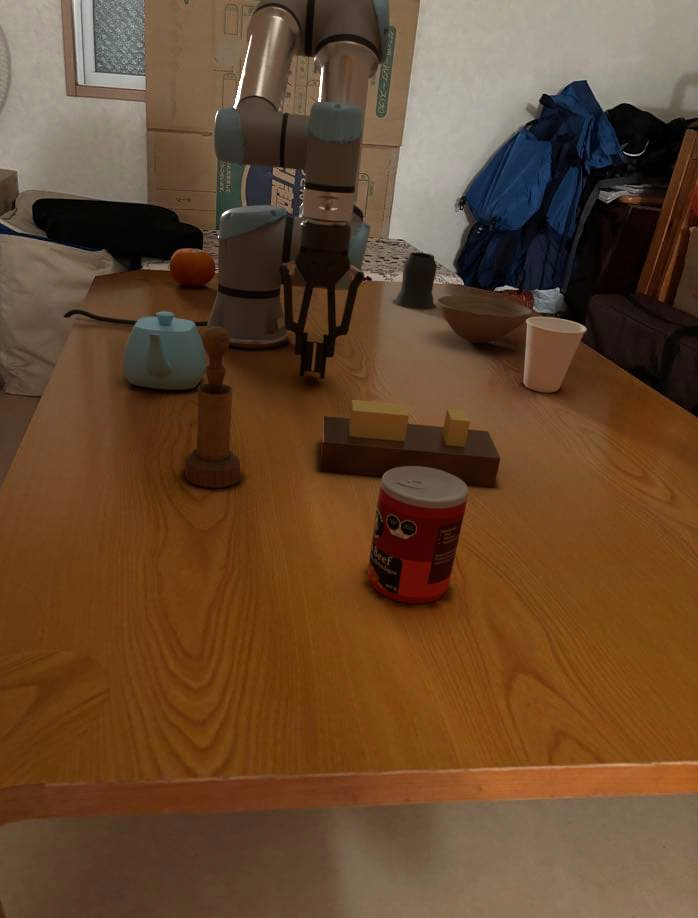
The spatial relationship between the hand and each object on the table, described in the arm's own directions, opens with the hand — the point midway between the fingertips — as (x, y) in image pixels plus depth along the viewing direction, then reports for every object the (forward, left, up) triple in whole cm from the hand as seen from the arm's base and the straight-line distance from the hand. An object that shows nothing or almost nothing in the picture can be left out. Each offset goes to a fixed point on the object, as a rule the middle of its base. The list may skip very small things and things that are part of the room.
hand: (312, 374), depth 126 cm
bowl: (+33, +35, -2) cm, 48 cm away
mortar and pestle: (-11, -39, -2) cm, 40 cm away
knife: (0, -5, +2) cm, 6 cm away
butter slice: (+19, -30, +3) cm, 35 cm away
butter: (+9, -30, +3) cm, 31 cm away
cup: (+40, +9, -2) cm, 41 cm away
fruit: (-30, +64, -2) cm, 71 cm away
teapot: (-23, -7, -2) cm, 24 cm away
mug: (+23, +67, -2) cm, 71 cm away
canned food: (+11, -59, -2) cm, 60 cm away
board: (+13, -30, -1) cm, 33 cm away
